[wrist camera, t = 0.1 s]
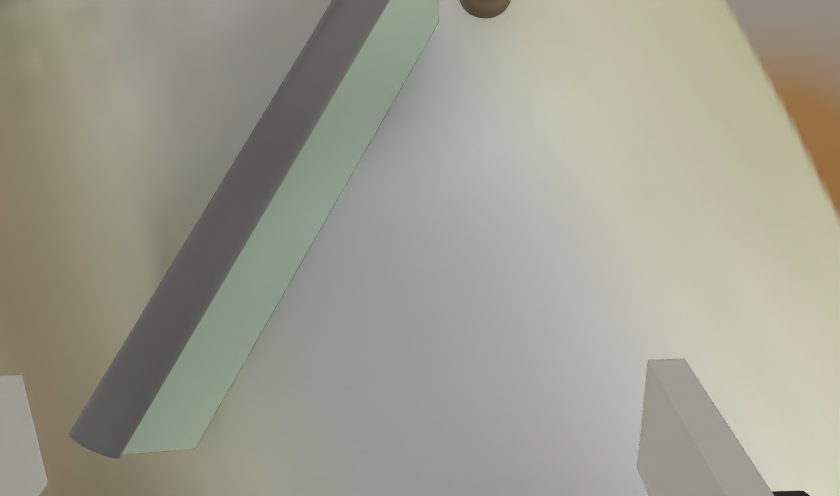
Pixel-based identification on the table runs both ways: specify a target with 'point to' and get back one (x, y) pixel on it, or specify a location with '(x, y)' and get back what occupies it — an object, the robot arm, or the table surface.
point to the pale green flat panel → (255, 230)
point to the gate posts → (485, 7)
